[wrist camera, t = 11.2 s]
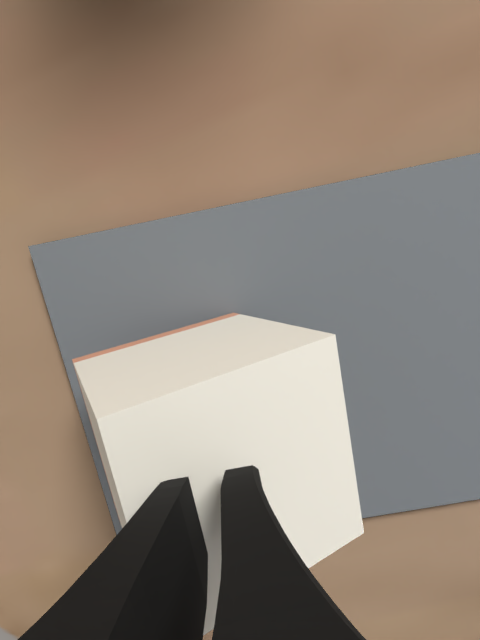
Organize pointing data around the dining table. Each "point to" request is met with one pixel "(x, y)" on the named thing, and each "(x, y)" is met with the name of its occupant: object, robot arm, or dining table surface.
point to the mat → (314, 309)
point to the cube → (229, 427)
